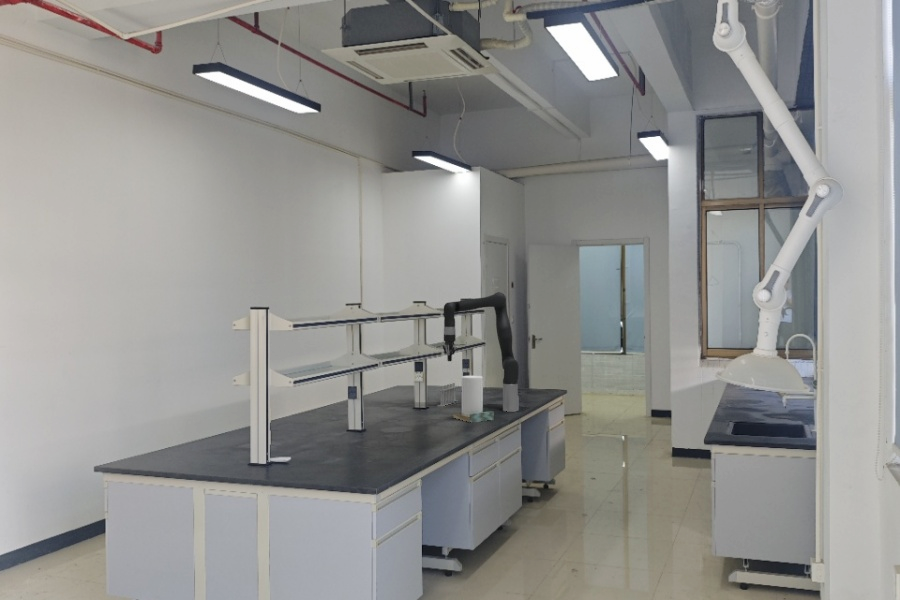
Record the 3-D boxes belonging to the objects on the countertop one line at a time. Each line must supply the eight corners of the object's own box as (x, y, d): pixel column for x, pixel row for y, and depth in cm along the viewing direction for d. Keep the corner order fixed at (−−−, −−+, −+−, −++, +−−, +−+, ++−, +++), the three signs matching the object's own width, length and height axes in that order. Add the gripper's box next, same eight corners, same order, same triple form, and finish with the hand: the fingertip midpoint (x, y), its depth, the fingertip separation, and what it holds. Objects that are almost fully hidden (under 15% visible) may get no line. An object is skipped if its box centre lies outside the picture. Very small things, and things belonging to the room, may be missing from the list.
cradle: (475, 416, 470) (475, 407, 470) (493, 420, 456) (493, 411, 455) (453, 418, 461) (453, 410, 461) (471, 422, 446) (471, 414, 446)
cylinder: (457, 418, 461) (457, 376, 461) (474, 416, 468) (474, 375, 468) (469, 421, 451) (469, 378, 450) (486, 419, 458) (486, 377, 457)
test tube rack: (443, 407, 505) (443, 386, 505) (437, 406, 507) (437, 386, 507) (458, 402, 528) (458, 382, 528) (452, 401, 530) (452, 382, 530)
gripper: (460, 334, 489) (460, 361, 489) (448, 333, 500) (448, 360, 500) (450, 334, 485) (450, 362, 485) (438, 333, 495) (438, 360, 496)
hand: (449, 361), depth 492 cm, fingers closed
